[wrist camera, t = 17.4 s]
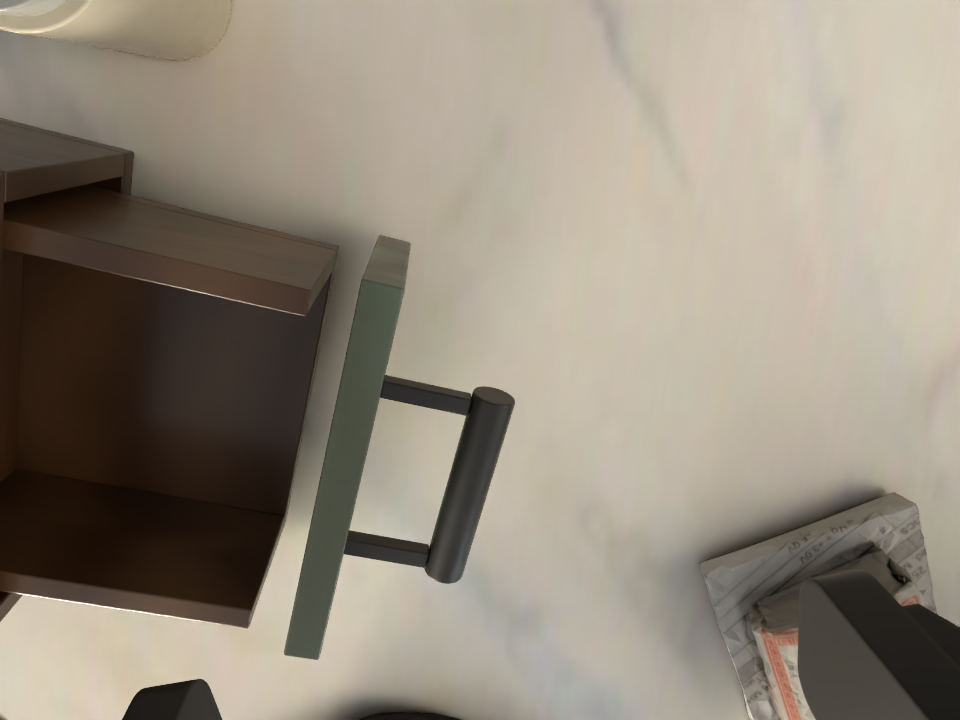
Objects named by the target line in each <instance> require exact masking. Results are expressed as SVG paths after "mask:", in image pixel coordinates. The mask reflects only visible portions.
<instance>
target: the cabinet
mask: <svg viewBox="0 0 960 720" xmlns="http://www.w3.org/2000/svg"><path fill="white" fill-rule="evenodd" d="M133 159H134V153H133V152H132V151H128V150H124V149H120V148H116V147H112V146H108V145H104V144H100V143H96V142H92V141H88V140H84V139H80V138H76V137H72V136H68V135H64V134H60V133H57V132H53V131H49V130H45V129H41V128H37V127H33V126H29V125H25V124H21V123H17V122H13V121H9V120H5V119H1V118H0V330H1V291H2V252H3V213H4V203H7V202H11V201H15V200H20V199H24V198H29V197H33V196H37V195H42V194H46V193H51V192H55V191H59V190H64V189H68V188H73V187H77V186H81V185H89V186H93V187H97V188H101V189H105V190H109V191H113V192H118V193H122V194H126V195H130V193H131V182H132V171H133ZM22 595H23V594H16V593H10V592H3V591H0V622H1V620H2V619H3V618H4V617H5V616H6V614H7V613H8V612H9V611H10V610H11V608H12V607H13V606H14V605H15V604H16V602H17V601H18V600H19V599H20V598H21V596H22Z"/></svg>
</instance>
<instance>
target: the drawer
mask: <svg viewBox="0 0 960 720" xmlns="http://www.w3.org/2000/svg"><path fill="white" fill-rule="evenodd" d="M410 246H411V243H410V242H406V241H402V240H398V239H394V238H390V237H386V236H382V235H379V237H378V240H377V242H376V245H375V247H374V250H373V252H372V255H371V258H370V260H369V263H368V265H367V268H366V270H365V273H364V275H363V278H362V281H361V285H360V290H359V295H358V300H357V305H356V309H355V314H354V319H353V324H352V329H351V333H350V338H349V343H348V348H347V352H346V357H345V362H344V367H343V372H342V376H341V381H340V386H339V391H338V396H337V400H336V405H335V410H334V415H333V420H332V424H331V429H330V434H329V439H328V444H327V448H326V453H325V458H324V463H323V468H322V472H321V477H320V482H319V487H318V492H317V496H316V501H315V506H314V511H313V516H312V520H311V525H310V530H309V535H308V540H307V544H306V549H305V554H304V559H303V563H302V568H301V573H300V578H299V583H298V587H297V592H296V597H295V602H294V607H293V611H292V616H291V621H290V626H289V631H288V635H287V640H286V645H285V650H284V655H286V656H293V657H300V658H307V659H314V660H318V659H319V658H320V653H321V649H322V645H323V640H324V636H325V632H326V627H327V623H328V619H329V614H330V610H331V606H332V601H333V597H334V593H335V589H336V584H337V580H338V576H339V571H340V567H341V563H342V558H343V554H347V555H353V556H359V557H365V558H370V559H376V560H382V561H388V562H394V563H399V564H405V565H411V566H417V567H423V568H425V571H426V573H427V575H428V576H429V577H431V578H432V579H433V580H435V581H438V582H441V583H446V584H450V583H455V582H457V581H459V580H460V579H461V577H462V575H463V571H464V568H465V565H466V562H467V558H468V555H469V552H470V549H471V545H472V542H473V539H474V535H475V532H476V529H477V526H478V522H479V519H480V516H481V513H482V509H483V506H484V503H485V499H486V496H487V493H488V490H489V486H490V483H491V480H492V477H493V473H494V470H495V467H496V463H497V460H498V457H499V454H500V450H501V447H502V444H503V441H504V437H505V434H506V431H507V427H508V424H509V421H510V418H511V414H512V411H513V408H514V405H515V400H514V398H513V397H512V396H511V395H509V394H508V393H506V392H504V391H502V390H499V389H496V388H492V387H477V388H475V389H474V391H473V394H472V397H471V394H470V393H466V392H462V391H457V390H452V389H448V388H443V387H438V386H434V385H429V384H424V383H420V382H415V381H410V380H406V379H401V378H396V377H392V376H387V375H385V373H386V368H387V364H388V360H389V355H390V351H391V347H392V342H393V338H394V334H395V329H396V325H397V321H398V316H399V312H400V308H401V304H402V299H403V295H404V290H405V283H406V276H407V268H408V261H409V254H410ZM338 249H339V246H336V245H332V244H328V243H324V242H320V241H316V240H312V239H308V238H303V237H299V236H295V235H291V234H287V233H283V232H279V231H275V230H270V229H266V228H262V227H258V226H254V225H250V224H246V223H241V222H237V221H233V220H229V219H225V218H221V217H217V216H213V215H208V214H204V213H200V212H196V211H192V210H188V209H184V208H180V207H175V206H171V205H167V204H163V203H159V202H155V201H151V200H147V199H142V198H138V197H134V196H130V195H126V194H122V193H118V192H113V191H109V190H105V189H101V188H97V187H93V186H89V185H81V186H77V187H73V188H68V189H64V190H59V191H55V192H51V193H46V194H42V195H37V196H33V197H29V198H24V199H20V200H15V201H11V202H7V203H4V213H3V252H2V291H1V330H0V591H3V592H10V593H16V594H23V595H30V596H36V597H43V598H49V599H56V600H63V601H69V602H76V603H82V604H89V605H96V606H102V607H109V608H115V609H122V610H129V611H135V612H142V613H148V614H155V615H162V616H168V617H175V618H181V619H188V620H195V621H201V622H208V623H214V624H221V625H228V626H234V627H241V628H248V627H249V626H250V623H251V620H252V617H253V614H254V611H255V608H256V605H257V603H258V600H259V597H260V594H261V591H262V588H263V585H264V582H265V579H266V577H267V574H268V571H269V568H270V565H271V562H272V559H273V556H274V553H275V551H276V548H277V545H278V542H279V539H280V536H281V533H282V531H283V528H284V525H285V522H286V518H287V513H288V507H289V502H290V497H291V492H292V487H293V482H294V476H295V471H296V466H297V461H298V456H299V451H300V445H301V440H302V435H303V430H304V425H305V420H306V415H307V409H308V404H309V399H310V394H311V389H312V384H313V378H314V373H315V368H316V363H317V358H318V353H319V347H320V342H321V337H322V332H323V327H324V322H325V316H326V311H327V306H328V301H329V296H330V291H331V285H332V280H333V275H334V270H335V265H336V260H337V255H338ZM380 397H381V398H384V399H389V400H394V401H399V402H403V403H408V404H413V405H418V406H423V407H427V408H432V409H437V410H442V411H446V412H451V413H456V414H461V415H466V419H465V422H464V426H463V429H462V433H461V436H460V440H459V443H458V447H457V451H456V454H455V458H454V461H453V465H452V468H451V472H450V475H449V479H448V483H447V486H446V490H445V493H444V497H443V500H442V504H441V508H440V511H439V515H438V518H437V522H436V525H435V529H434V532H433V536H432V540H431V543H430V547H429V545H428V544H423V543H417V542H412V541H406V540H400V539H395V538H389V537H383V536H378V535H372V534H366V533H361V532H355V531H350V530H349V528H350V524H351V519H352V515H353V511H354V506H355V502H356V498H357V494H358V489H359V485H360V481H361V476H362V472H363V468H364V463H365V459H366V455H367V450H368V446H369V442H370V437H371V433H372V429H373V424H374V420H375V416H376V411H377V407H378V403H379V399H380Z"/></svg>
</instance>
